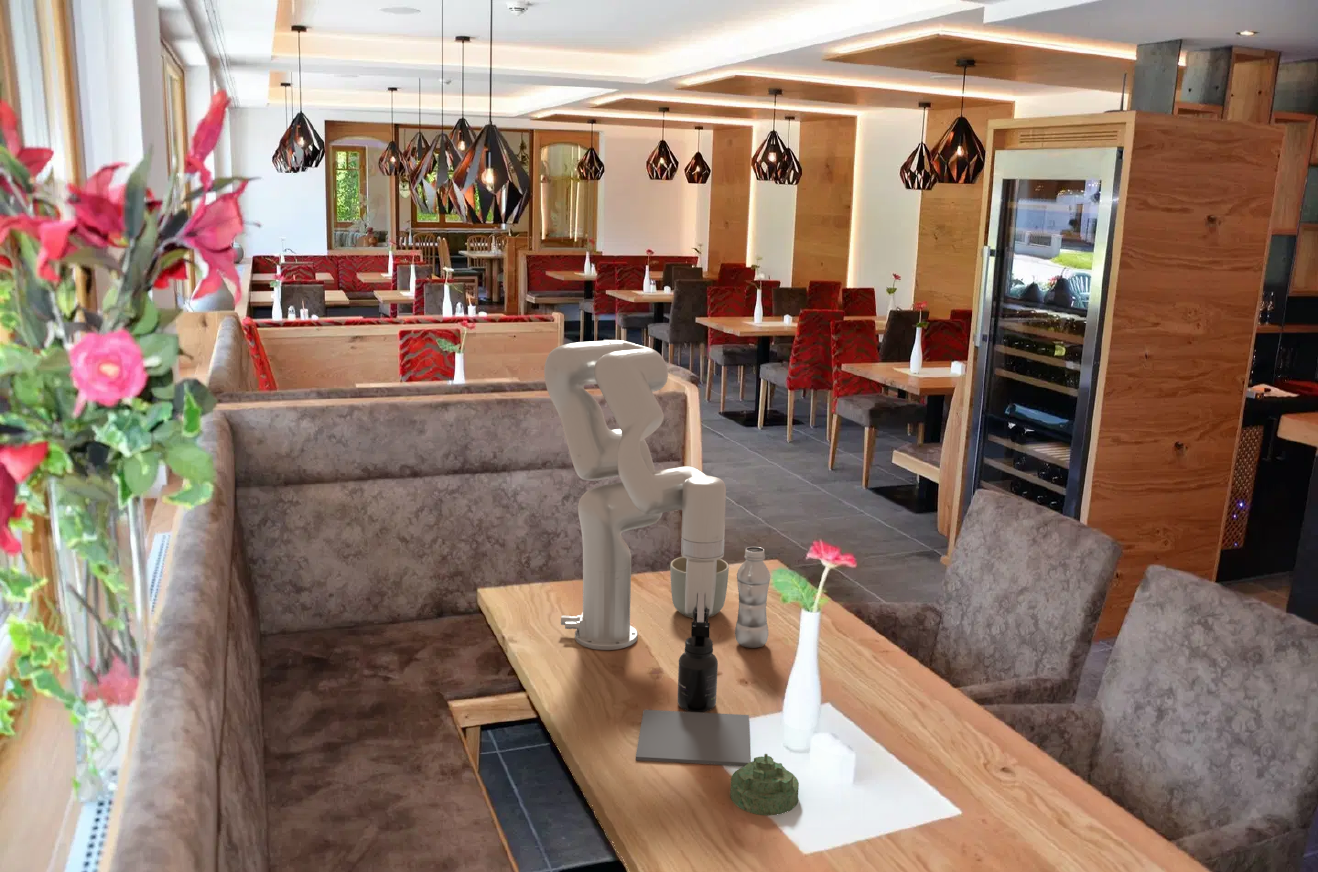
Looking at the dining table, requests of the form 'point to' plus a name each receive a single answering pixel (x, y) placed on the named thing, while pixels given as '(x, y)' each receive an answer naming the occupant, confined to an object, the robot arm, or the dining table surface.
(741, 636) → the plastic bottle
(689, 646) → the supplement bottle
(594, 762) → the dining table surface
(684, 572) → the planter
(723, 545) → the robot arm
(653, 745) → the mat
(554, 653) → the dining table surface
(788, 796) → the decorative artifact
